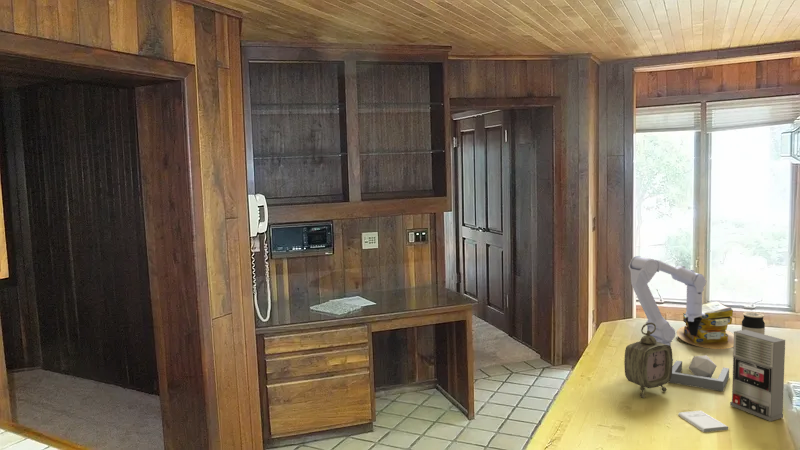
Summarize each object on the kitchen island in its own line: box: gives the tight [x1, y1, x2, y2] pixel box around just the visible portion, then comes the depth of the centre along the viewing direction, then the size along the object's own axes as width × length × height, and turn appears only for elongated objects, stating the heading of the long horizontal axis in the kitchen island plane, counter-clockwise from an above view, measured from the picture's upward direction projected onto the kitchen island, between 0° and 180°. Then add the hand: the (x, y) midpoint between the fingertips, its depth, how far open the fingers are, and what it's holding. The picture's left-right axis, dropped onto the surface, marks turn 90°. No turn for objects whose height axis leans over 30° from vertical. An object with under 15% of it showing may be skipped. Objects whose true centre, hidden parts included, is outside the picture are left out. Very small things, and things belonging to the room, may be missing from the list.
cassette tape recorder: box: [729, 329, 786, 422], centre depth 193 cm, size 14×6×25 cm, turn 23°
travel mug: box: [741, 311, 766, 335], centre depth 245 cm, size 8×8×18 cm
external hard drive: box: [677, 410, 729, 433], centre depth 189 cm, size 2×8×12 cm
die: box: [688, 354, 717, 378], centre depth 226 cm, size 8×9×10 cm
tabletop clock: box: [623, 322, 674, 399], centre depth 212 cm, size 14×9×25 cm, turn 117°
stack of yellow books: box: [676, 301, 734, 350], centre depth 270 cm, size 25×25×17 cm
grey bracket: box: [668, 360, 730, 392], centre depth 224 cm, size 18×16×4 cm
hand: (693, 335), depth 248 cm, fingers closed
